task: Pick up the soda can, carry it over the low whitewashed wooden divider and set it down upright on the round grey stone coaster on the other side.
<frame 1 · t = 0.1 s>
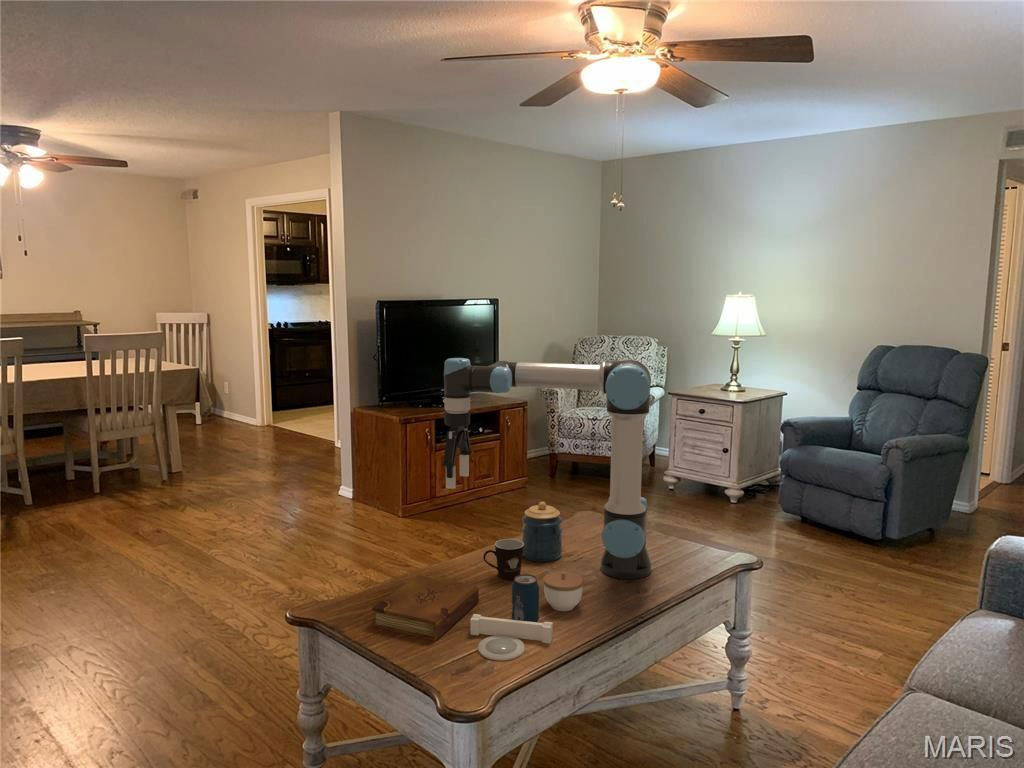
hand: (457, 482, 212), 28 cm above the table, fingers open, 13 cm apart
canister: (541, 555, 230), on the table
coaster: (501, 648, 171), on the table
diary: (427, 616, 188), on the table
divider: (511, 636, 177), on the table
coffee mug: (504, 576, 213), on the table
soda can: (525, 624, 184), on the table
lidded jar: (562, 606, 194), on the table
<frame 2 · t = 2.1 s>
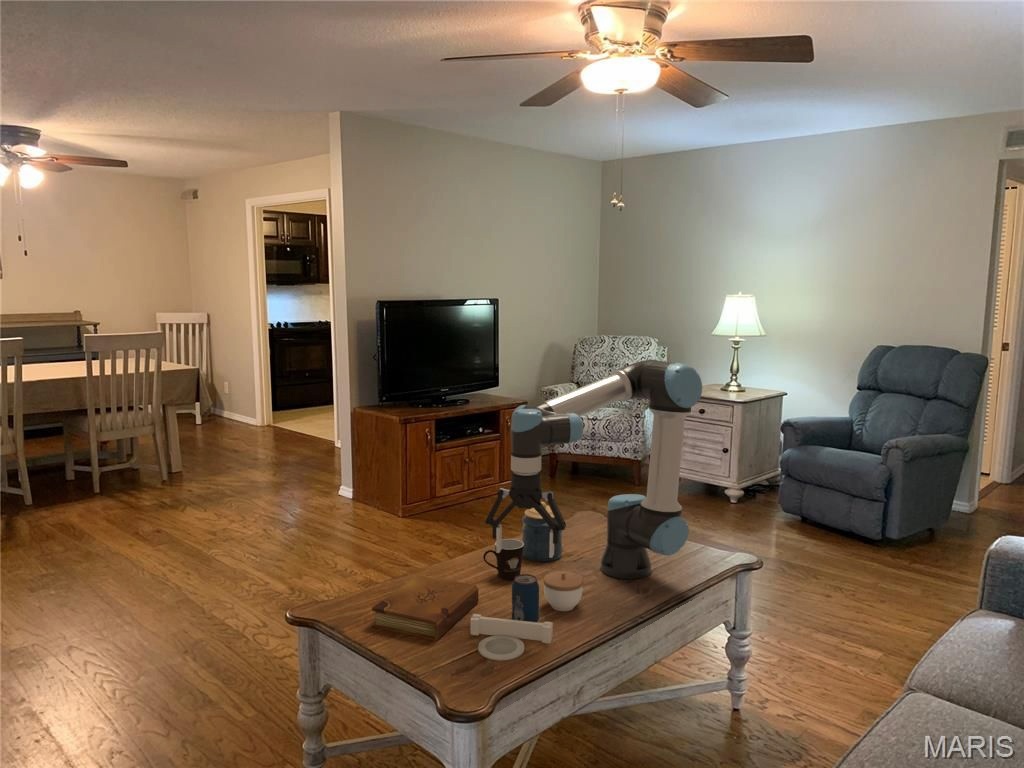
hand: (525, 553, 181), 19 cm above the table, fingers open, 13 cm apart
nothing on the table moved.
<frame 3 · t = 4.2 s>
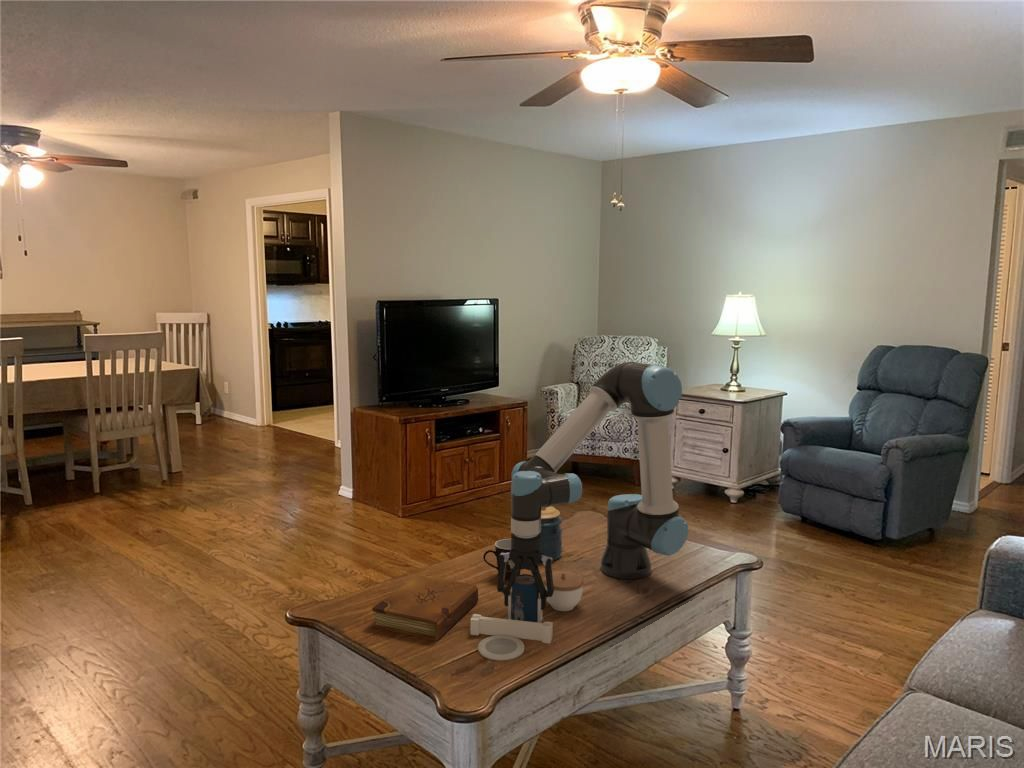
hand: (525, 619, 183), 1 cm above the table, fingers closed on soda can, 7 cm apart
soda can: (525, 623, 184), on the table, touching gripper
everything else where it was.
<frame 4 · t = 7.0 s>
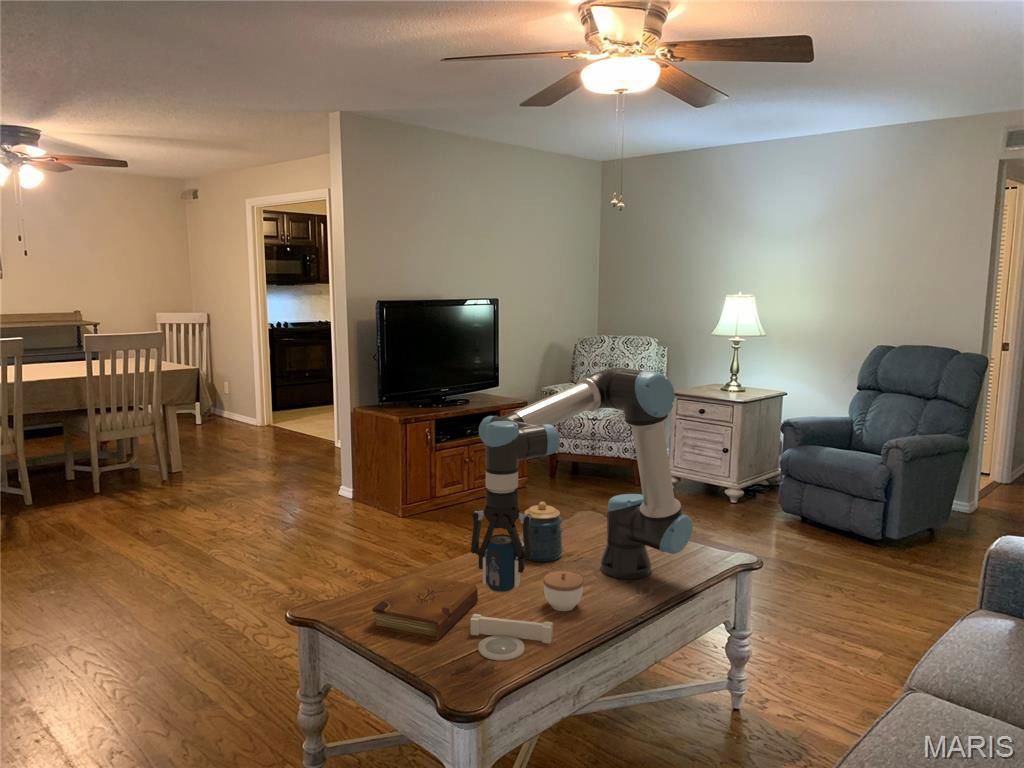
hand: (501, 583, 168), 16 cm above the table, fingers closed on soda can, 7 cm apart
soda can: (501, 588, 169), point 15 cm above the table, touching gripper
everything else where it was.
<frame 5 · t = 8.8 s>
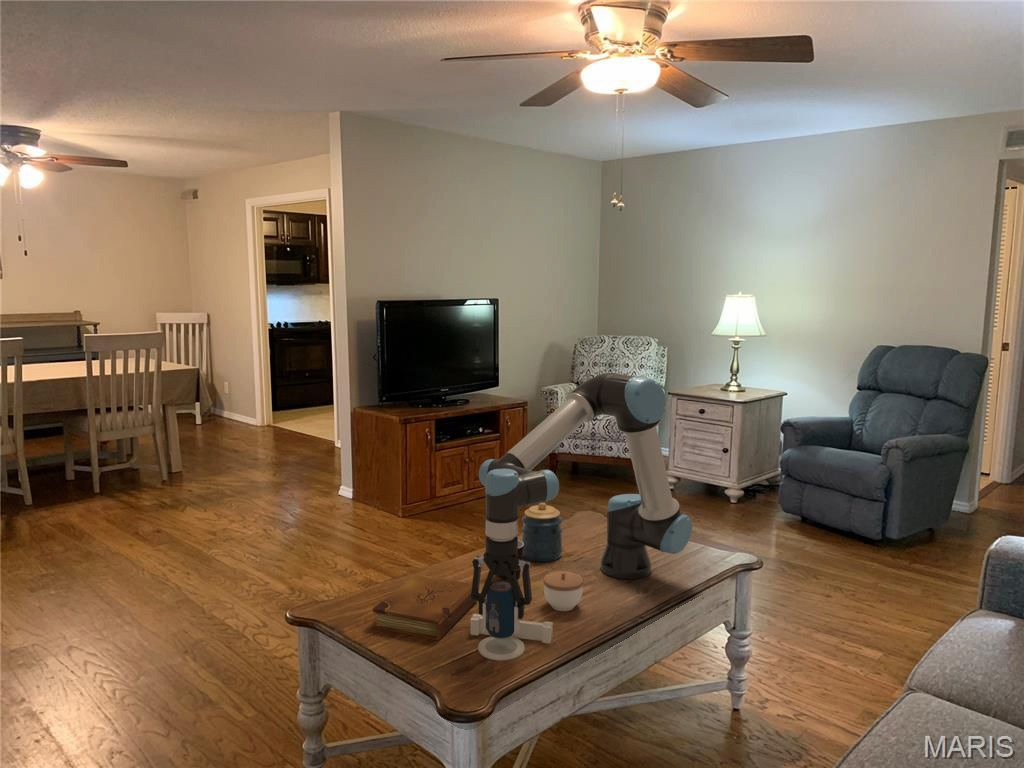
hand: (501, 628, 170), 5 cm above the table, fingers closed on soda can, 7 cm apart
soda can: (501, 633, 170), point 4 cm above the table, touching gripper
everything else where it was.
when the fingers open (3 cm above the table, at t = 9.7 s): soda can drops 1 cm, resting on coaster.
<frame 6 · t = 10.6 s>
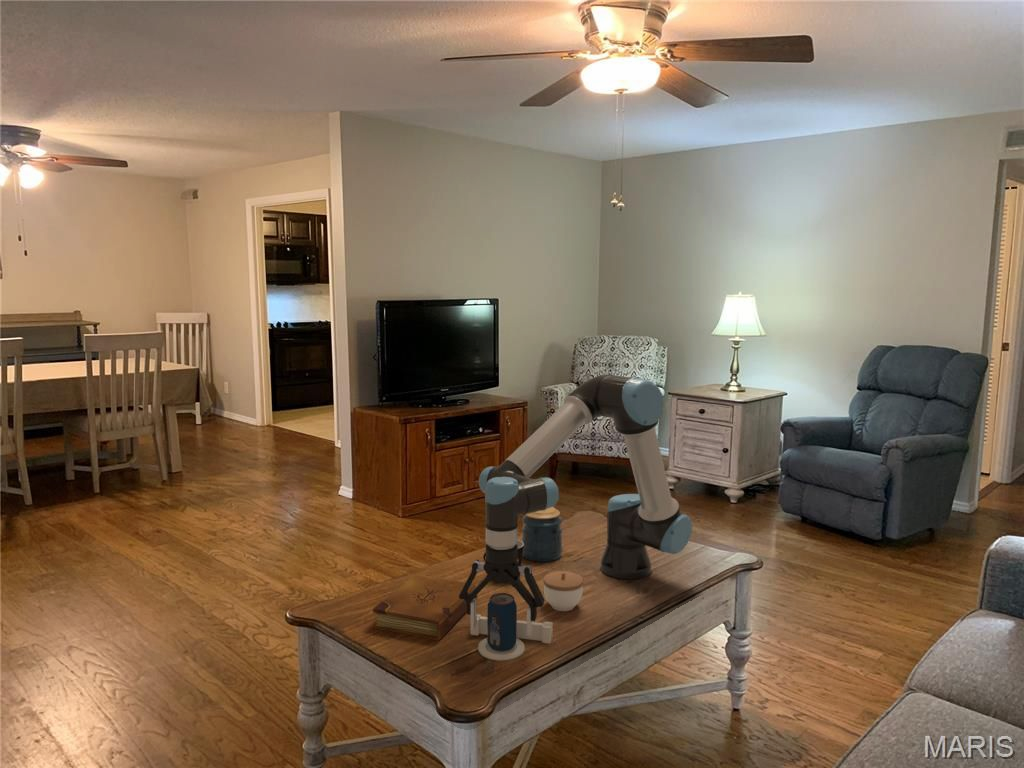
hand: (501, 630, 170), 5 cm above the table, fingers open, 13 cm apart
soda can: (501, 646, 171), point 1 cm above the table, touching coaster
everything else where it was.
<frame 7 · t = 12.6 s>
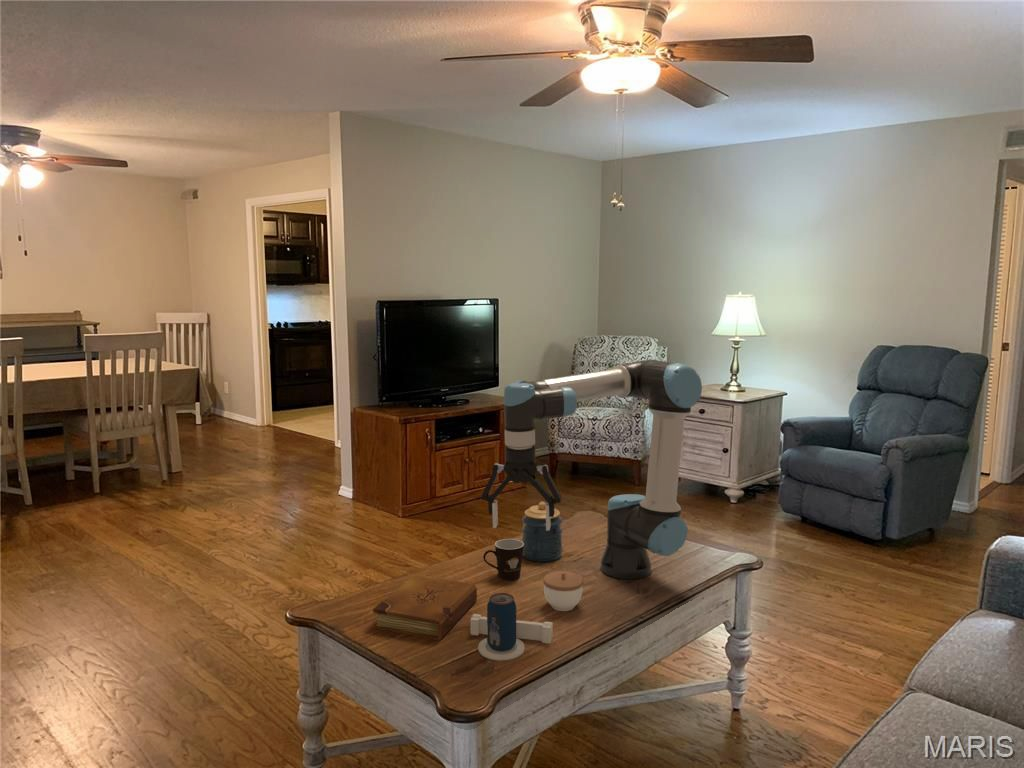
hand: (521, 527, 181), 25 cm above the table, fingers open, 13 cm apart
nothing on the table moved.
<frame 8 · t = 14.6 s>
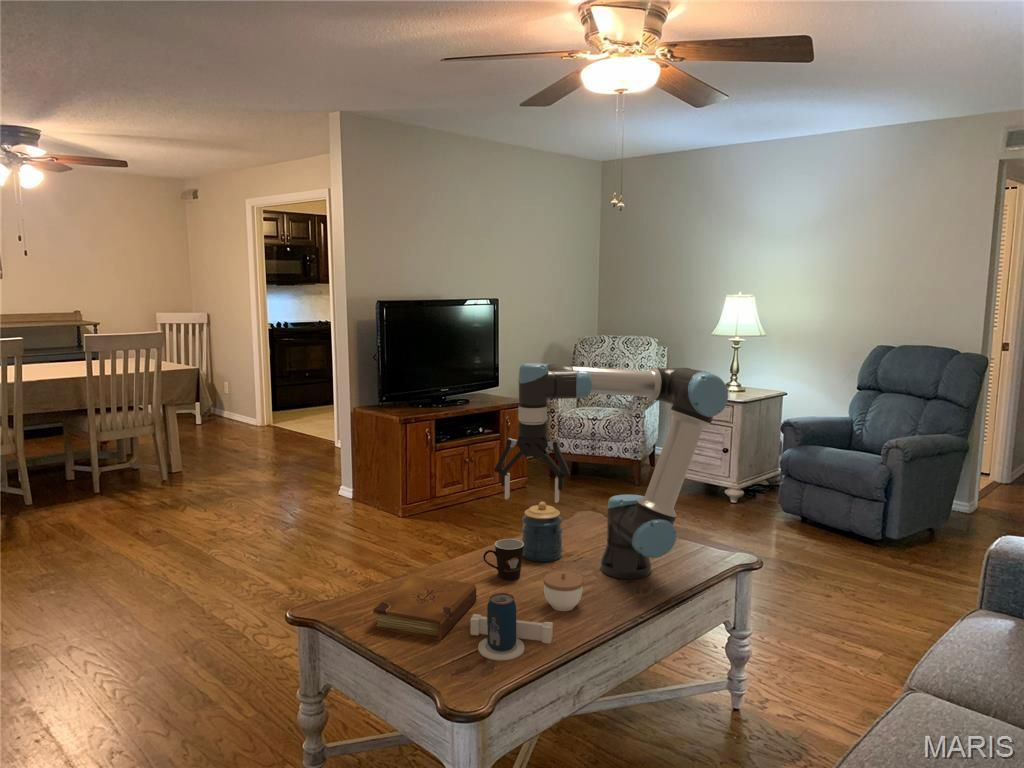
hand: (531, 499, 192), 29 cm above the table, fingers open, 13 cm apart
nothing on the table moved.
at the end: soda can 0.1 cm from the coaster (horizontally); soda can tilted 0°; the gripper is holding nothing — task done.
